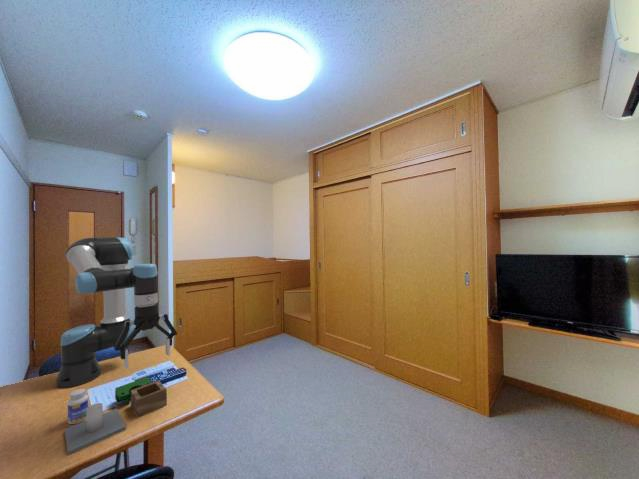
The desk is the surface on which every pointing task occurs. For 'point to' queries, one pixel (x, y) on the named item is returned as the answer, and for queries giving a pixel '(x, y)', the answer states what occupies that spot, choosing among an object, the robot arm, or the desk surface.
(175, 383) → the desk surface
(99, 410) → the gray base with post
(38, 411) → the desk surface
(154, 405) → the wooden box
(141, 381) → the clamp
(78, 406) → the pill bottle
